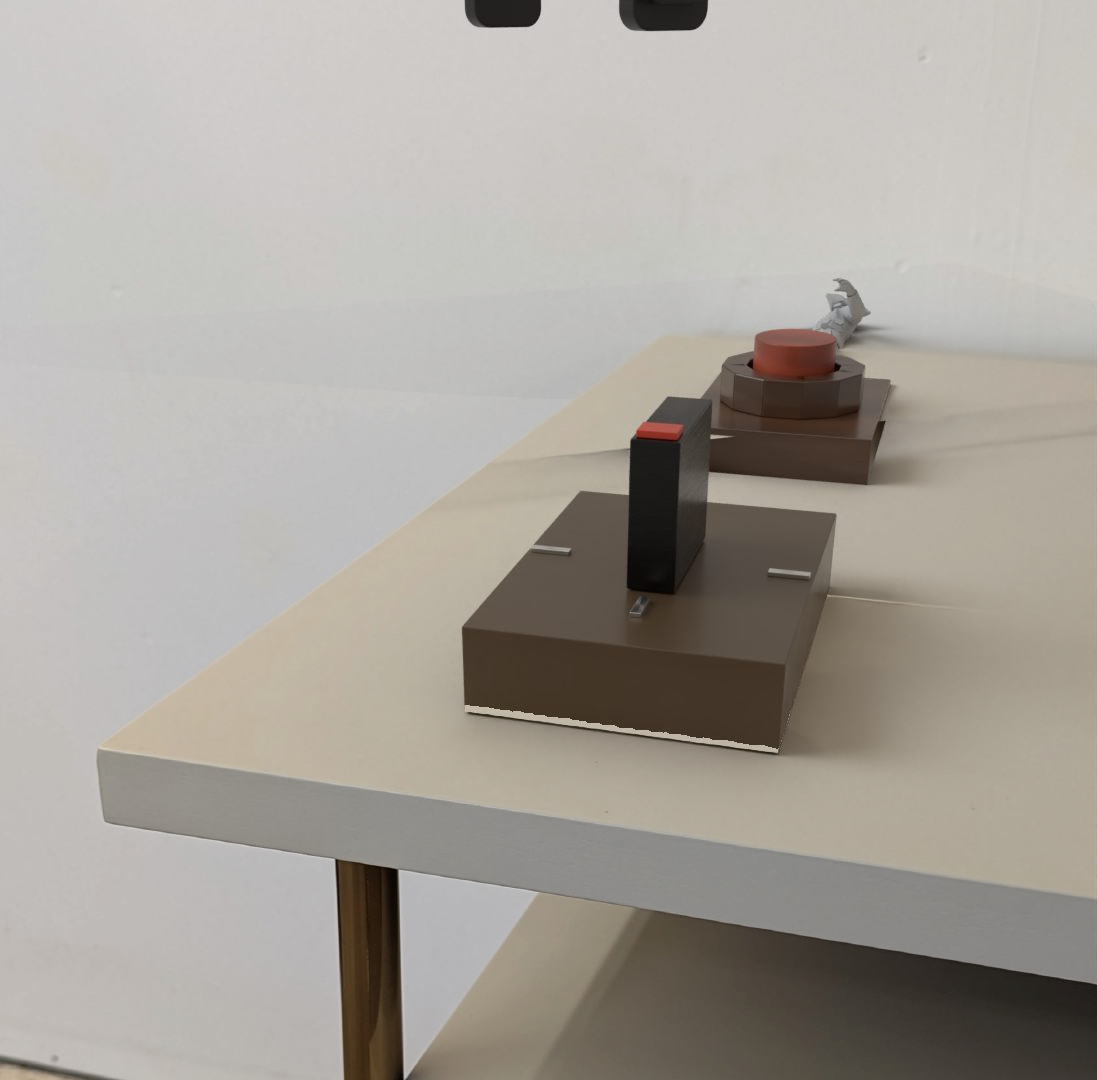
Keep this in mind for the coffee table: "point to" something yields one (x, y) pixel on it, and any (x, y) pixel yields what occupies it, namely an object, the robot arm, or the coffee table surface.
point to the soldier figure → (842, 313)
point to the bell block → (796, 422)
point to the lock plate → (656, 625)
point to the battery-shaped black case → (668, 493)
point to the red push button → (794, 352)
